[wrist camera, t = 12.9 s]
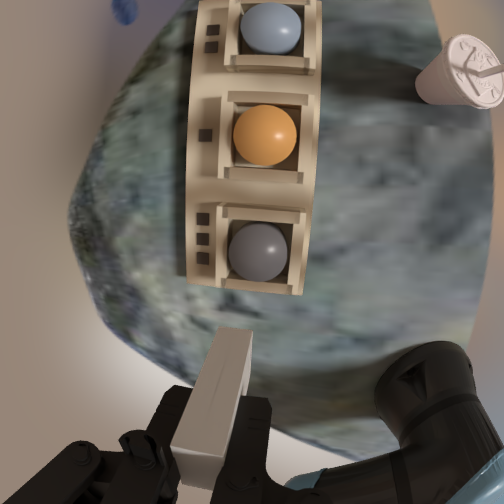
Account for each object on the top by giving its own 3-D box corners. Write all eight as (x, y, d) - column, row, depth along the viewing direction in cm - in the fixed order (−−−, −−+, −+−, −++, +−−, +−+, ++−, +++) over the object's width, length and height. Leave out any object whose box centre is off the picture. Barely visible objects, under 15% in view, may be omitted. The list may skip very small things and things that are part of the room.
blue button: (299, 60, 22) (300, 51, 19) (243, 57, 22) (238, 49, 20) (300, 15, 20) (301, 3, 18) (246, 13, 21) (242, 2, 18)
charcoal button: (284, 273, 28) (284, 284, 26) (233, 268, 29) (227, 278, 27) (289, 222, 27) (289, 228, 24) (234, 217, 27) (229, 224, 25)
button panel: (301, 286, 32) (303, 307, 27) (192, 275, 33) (178, 293, 28) (319, 9, 22) (323, -11, 18) (204, 8, 23) (192, -10, 19)
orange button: (293, 166, 25) (294, 168, 23) (237, 163, 26) (231, 164, 23) (297, 111, 23) (298, 107, 21) (240, 108, 24) (235, 104, 22)
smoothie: (401, 106, 24) (477, 80, 11) (404, 52, 22) (470, 1, 9) (452, 124, 24) (540, 119, 11) (455, 72, 22) (534, 43, 8)
